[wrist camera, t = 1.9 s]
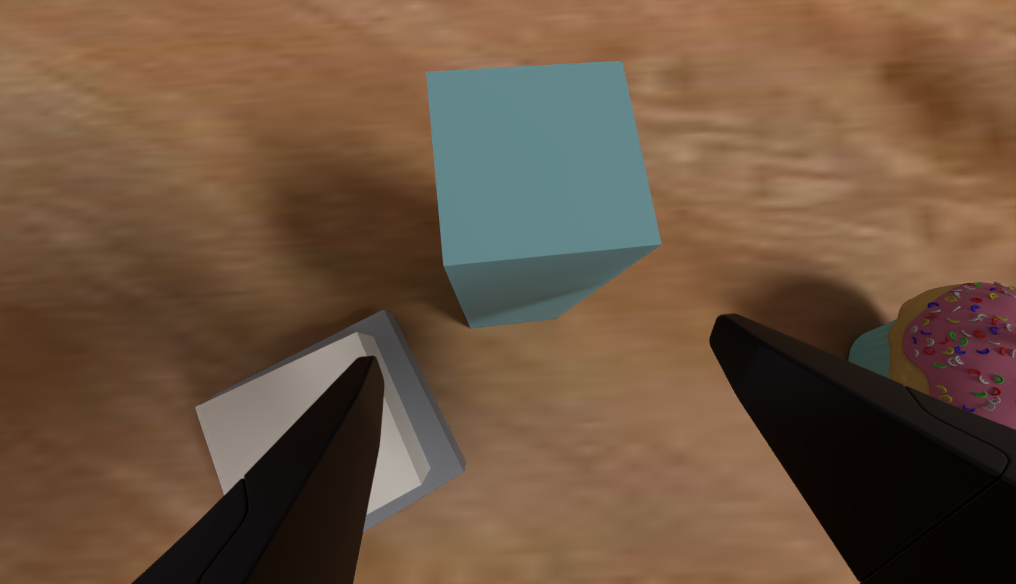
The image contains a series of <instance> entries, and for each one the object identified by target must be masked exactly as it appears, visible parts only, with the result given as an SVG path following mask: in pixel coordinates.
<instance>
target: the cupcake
mask: <svg viewBox="0 0 1016 584" xmlns="http://www.w3.org/2000/svg"><path fill="white" fill-rule="evenodd" d="M1012 288H1014V289H1012ZM848 361H849V362H852V363H854V364H856V365H859V366H861V367H863V368H866V369H868V370H870V371H873V372H875V373H878V374H880V375H882V376H885V377H887V378H889V379H892V380H894V381H896V382H899V383H901V384H903V385H904V386H909V387H911V388H913V389H916V390H918V391H920V392H923V393H925V394H927V395H930V396H932V397H935V398H937V399H939V400H942V401H944V402H947V403H949V404H952V405H954V406H956V407H959V408H961V409H964V410H966V411H969V412H972V413H974V414H977V415H979V416H982V417H984V418H987V419H990V420H992V421H995V422H997V423H1000V424H1003V425H1005V426H1008V427H1010V428H1013V429H1016V288H1015V287H1013V286H1009V287H1004V285H1002V284H1001V283H998V282H994V284H990V283H982V282H978V283H966V284H959V285H950V286H945V287H939V288H935V289H931V290H928V291H925V292H923V293H921V294H920V295H918V296H916V297H914V298H912V299H910V300H908V301H906V302H905V303H904V304H903V305H902V306H901V308H900V310H899V314H898V318H897V319H896V320H894V321H892V322H890V323H888V324H885V325H883V326H881V327H878V328H876V329H873V330H871V331H868V332H866V333H864V334H862V335H861V336H860V337H858V338H857V339H856V340H855V342H854V343H853V345H852V347H851V349H850V352H849V358H848Z"/></svg>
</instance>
